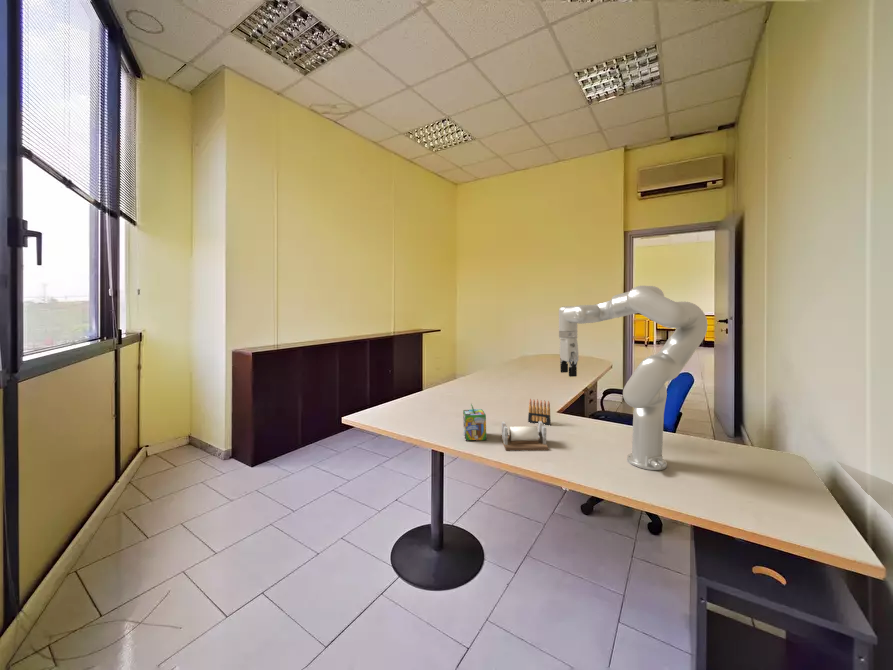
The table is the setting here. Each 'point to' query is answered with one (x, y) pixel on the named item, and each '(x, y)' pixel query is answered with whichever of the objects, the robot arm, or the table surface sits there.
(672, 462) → the table surface
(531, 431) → the roll
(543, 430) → the holder
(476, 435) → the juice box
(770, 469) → the table surface
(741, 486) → the table surface
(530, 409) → the ammunition clip
